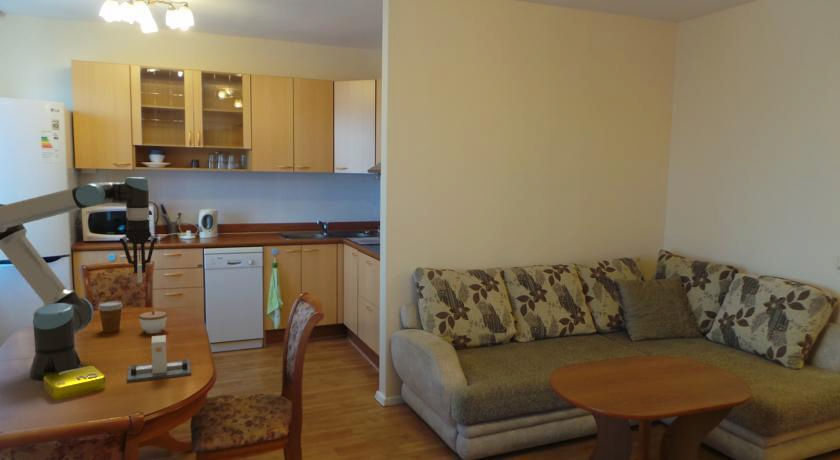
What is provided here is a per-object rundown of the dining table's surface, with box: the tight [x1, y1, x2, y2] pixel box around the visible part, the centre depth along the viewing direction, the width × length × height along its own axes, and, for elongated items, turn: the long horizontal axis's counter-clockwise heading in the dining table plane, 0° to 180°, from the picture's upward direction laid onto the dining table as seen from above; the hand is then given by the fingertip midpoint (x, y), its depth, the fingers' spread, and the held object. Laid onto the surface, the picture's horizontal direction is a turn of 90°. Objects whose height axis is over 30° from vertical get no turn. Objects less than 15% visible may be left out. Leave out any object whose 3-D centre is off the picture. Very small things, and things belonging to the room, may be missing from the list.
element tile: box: [43, 365, 106, 401], centre depth 185 cm, size 15×15×5 cm
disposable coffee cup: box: [97, 300, 123, 333], centre depth 248 cm, size 10×10×12 cm
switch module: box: [151, 334, 168, 374], centre depth 200 cm, size 9×4×11 cm, turn 24°
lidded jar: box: [139, 309, 168, 335], centre depth 248 cm, size 11×11×9 cm
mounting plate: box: [126, 358, 192, 383], centre depth 201 cm, size 20×14×3 cm
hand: (140, 281), depth 212 cm, fingers closed
